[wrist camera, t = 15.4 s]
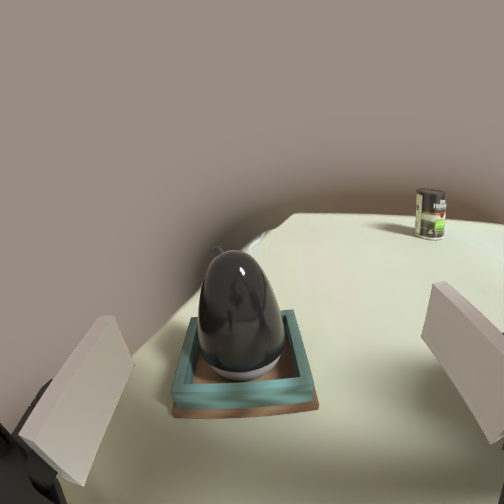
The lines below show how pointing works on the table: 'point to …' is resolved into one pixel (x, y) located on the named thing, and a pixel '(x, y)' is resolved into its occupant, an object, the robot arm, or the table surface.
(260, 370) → the dark grey glossy oval
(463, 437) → the table surface
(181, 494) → the table surface
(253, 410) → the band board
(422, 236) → the coffee can
